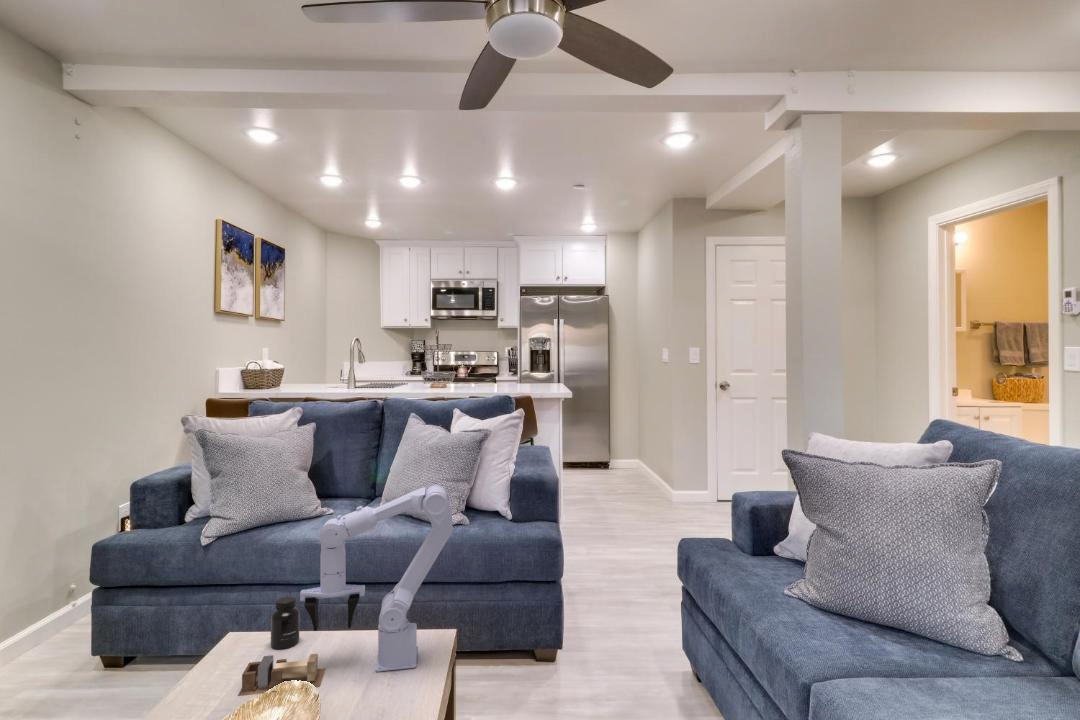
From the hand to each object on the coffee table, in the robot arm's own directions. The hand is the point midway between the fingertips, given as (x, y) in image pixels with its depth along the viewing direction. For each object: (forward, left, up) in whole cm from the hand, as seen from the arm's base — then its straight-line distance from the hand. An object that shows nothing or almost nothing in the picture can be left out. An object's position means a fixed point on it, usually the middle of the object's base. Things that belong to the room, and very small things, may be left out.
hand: (333, 627), depth 135 cm
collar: (+14, +5, -9) cm, 17 cm away
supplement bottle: (+14, -14, -10) cm, 22 cm away
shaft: (+7, +5, -9) cm, 13 cm away
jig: (+10, +5, -10) cm, 15 cm away
